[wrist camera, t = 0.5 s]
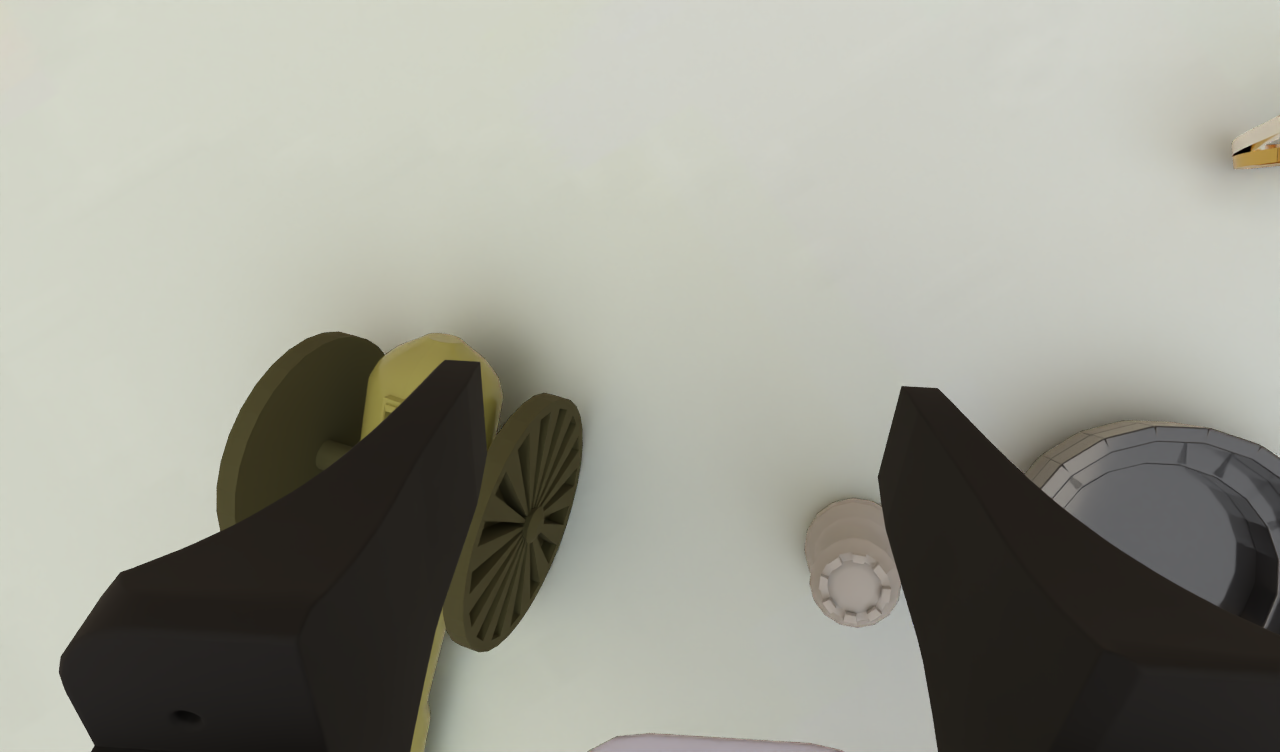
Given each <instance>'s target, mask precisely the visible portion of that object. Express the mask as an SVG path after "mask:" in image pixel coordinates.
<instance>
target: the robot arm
mask: <svg viewBox="0 0 1280 752" xmlns="http://www.w3.org/2000/svg"><path fill="white" fill-rule="evenodd" d="M486 458H487V444H486V431H485V417H484V404H483V391H482V377H481V364H480V362H477V361H460V360H444V361H443V362H442V363H441V364H439V365H438V366H437V367H436V368H435V369H434V370H433V371H432V372H431V373H430V374H429V376H428V377H427V378H426V379H425V380H424V381H423V382H422V383H421V384H420V385H419V386H418V387H417V388H416V389H415V390H414V391H413V392H412V393H411V394H410V395H409V396H408V397H407V398H406V399H405V400H404V401H403V402H402V403H401V404H400V405H399V406H398V407H397V408H396V409H395V410H394V411H393V412H392V413H391V414H389V415H388V416H387V417H386V418H385V419H384V420H383V421H382V422H381V423H380V424H379V425H378V426H377V427H376V428H375V429H374V430H372V431H371V432H370V433H369V434H368V435H367V436H365V437H364V438H363V439H362V440H361V441H360V442H358V443H357V444H356V445H355V446H354V447H352V448H351V449H350V450H349V451H348V452H347V453H345V454H344V455H343V456H342V457H341V458H339V459H338V460H337V461H336V462H334V463H333V464H332V465H330V466H329V467H328V468H326V469H325V470H324V471H322V472H321V473H319V474H318V475H316V476H315V477H313V478H312V479H311V480H309V481H308V482H306V483H305V484H303V485H302V486H300V487H299V488H297V489H296V490H294V491H293V492H291V493H289V494H287V495H286V496H284V497H282V498H281V499H279V500H277V501H276V502H274V503H272V504H270V505H269V506H267V507H265V508H264V509H262V510H260V511H258V512H257V513H255V514H253V515H252V516H250V517H248V518H246V519H244V520H242V521H240V522H238V523H236V524H234V525H232V526H230V527H228V528H226V529H224V530H222V531H220V532H218V533H216V534H214V535H212V536H210V537H208V538H205V539H203V540H201V541H199V542H197V543H194V544H192V545H190V546H188V547H185V548H183V549H181V550H178V551H175V552H173V553H170V554H168V555H165V556H163V557H160V558H157V559H155V560H152V561H150V562H147V563H145V564H142V565H140V566H137V567H134V568H132V569H129V570H126V571H123V572H120V574H119V575H118V576H117V577H116V579H115V580H114V581H113V582H112V584H111V585H110V586H109V587H108V589H107V590H106V591H105V592H104V594H103V595H102V596H101V598H100V599H99V601H98V602H97V604H96V605H95V607H94V608H93V610H92V611H91V613H90V614H89V616H88V617H87V619H86V620H85V622H84V623H83V624H82V626H81V627H80V629H79V630H78V632H77V633H76V635H75V636H74V638H73V639H72V641H71V642H70V644H69V645H68V647H67V648H66V650H65V651H64V653H63V654H62V655H61V659H60V667H59V674H60V677H61V680H62V683H63V686H64V689H65V691H66V693H67V695H68V697H69V699H70V701H71V702H72V704H73V706H74V708H75V710H76V712H77V714H78V715H79V717H80V719H81V721H82V723H83V725H84V726H85V728H86V730H87V732H88V734H89V736H90V737H91V739H92V741H93V743H94V745H95V746H94V748H93V749H92V751H91V752H410V751H411V746H412V741H413V735H414V730H415V725H416V721H417V716H418V711H419V706H420V701H421V696H422V691H423V686H424V682H425V677H426V673H427V668H428V663H429V659H430V654H431V650H432V645H433V641H434V636H435V632H436V628H437V625H438V621H439V618H440V614H441V611H442V608H443V605H444V602H445V599H446V596H447V593H448V590H449V587H450V584H451V581H452V578H453V575H454V572H455V569H456V566H457V564H458V561H459V558H460V555H461V552H462V549H463V546H464V543H465V540H466V537H467V534H468V531H469V528H470V525H471V522H472V519H473V516H474V513H475V510H476V507H477V504H478V499H479V494H480V489H481V484H482V479H483V474H484V468H485V463H486ZM878 481H879V489H880V497H881V504H882V511H883V517H884V523H885V529H886V533H887V536H888V540H889V543H890V547H891V550H892V554H893V557H894V561H895V564H896V568H897V571H898V574H899V578H900V581H901V585H902V588H903V591H904V595H905V598H906V601H907V605H908V608H909V611H910V615H911V618H912V622H913V625H914V628H915V632H916V635H917V639H918V643H919V647H920V651H921V655H922V659H923V664H924V670H925V675H926V681H927V687H928V692H929V698H930V704H931V709H932V715H933V722H934V728H935V735H936V741H937V748H938V752H1280V635H1278V634H1276V633H1274V632H1272V631H1270V630H1267V629H1265V628H1263V627H1261V626H1259V625H1256V624H1254V623H1252V622H1250V621H1248V620H1245V619H1243V618H1241V617H1239V616H1237V615H1234V614H1232V613H1230V612H1228V611H1226V610H1224V609H1222V608H1220V607H1218V606H1216V605H1214V604H1213V603H1211V602H1209V601H1207V600H1205V599H1203V598H1201V597H1199V596H1197V595H1196V594H1194V593H1192V592H1190V591H1188V590H1186V589H1184V588H1182V587H1181V586H1179V585H1177V584H1175V583H1174V582H1172V581H1170V580H1168V579H1167V578H1165V577H1163V576H1161V575H1160V574H1158V573H1156V572H1155V571H1153V570H1152V569H1150V568H1148V567H1147V566H1145V565H1144V564H1142V563H1141V562H1139V561H1137V560H1136V559H1134V558H1133V557H1131V556H1129V555H1128V554H1126V553H1125V552H1123V551H1122V550H1120V549H1119V548H1117V547H1116V546H1114V545H1113V544H1111V543H1110V542H1108V541H1107V540H1105V539H1104V538H1102V537H1101V536H1100V535H1098V534H1097V533H1096V532H1094V531H1093V530H1092V529H1090V528H1089V527H1088V526H1086V525H1085V524H1084V523H1082V522H1081V521H1079V520H1078V519H1077V518H1075V517H1074V516H1073V515H1071V514H1070V513H1069V512H1068V511H1066V510H1065V509H1064V508H1063V507H1061V506H1060V505H1059V504H1058V503H1056V502H1055V501H1054V500H1053V499H1052V498H1051V497H1049V496H1048V495H1047V494H1046V493H1045V492H1044V491H1043V490H1041V489H1040V488H1039V487H1038V486H1037V485H1036V484H1034V483H1033V482H1032V481H1031V480H1030V479H1029V478H1028V477H1027V476H1025V475H1024V474H1023V473H1022V472H1021V471H1020V470H1019V469H1018V468H1017V467H1016V466H1015V465H1014V464H1013V463H1011V462H1010V461H1009V460H1008V459H1007V458H1006V457H1005V456H1004V455H1003V454H1002V453H1001V452H1000V451H999V450H998V449H997V448H996V447H995V446H994V445H993V444H992V443H991V442H990V441H989V440H988V439H987V438H986V437H985V436H984V435H983V434H982V433H981V432H980V431H979V430H978V429H977V428H976V427H975V426H974V425H973V424H972V423H971V422H970V421H969V419H968V418H967V417H966V416H965V415H964V414H963V413H962V412H961V411H960V410H959V409H958V408H957V407H956V406H955V405H954V404H953V403H952V402H951V401H950V400H949V399H948V398H947V397H946V396H945V395H944V394H943V393H942V392H941V391H940V390H939V389H938V388H924V387H907V386H902V387H901V391H900V395H899V398H898V402H897V406H896V410H895V414H894V417H893V421H892V425H891V429H890V433H889V436H888V440H887V444H886V448H885V452H884V455H883V459H882V463H881V467H880V471H879V475H878ZM588 752H844V751H842V750H838V749H834V748H829V747H825V746H821V745H816V744H812V743H800V742H784V741H768V740H752V739H736V738H720V737H703V736H687V735H671V734H655V733H646V734H636V735H625V736H616V737H614V738H612V739H610V740H608V741H606V742H604V743H602V744H600V745H599V746H597V747H595V748H593V749H591V750H589V751H588Z"/></svg>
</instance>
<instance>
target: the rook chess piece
mask: <svg viewBox="0 0 1280 752" xmlns="http://www.w3.org/2000/svg"><path fill="white" fill-rule="evenodd" d="M804 550H805V556H806V560H807V564H808V567H809V571H810V573H811V576H810V587H811V591H812V595H813V599H814V601H815V602H816V604H817V605H818V606H819V608H820V609H821V611H822V612H823V613H824V615H826V616H828V617H829V618H831V619H832V620H834V621H835V622H837V623H839V624H841V625H846V626H851V627H856V628H859V627H864V626H870V625H875V624H876V623H878V622H879V621H881V620H882V619H884V618H885V617H887V616H888V615H890V613H891V611H892V610H893V608H894V607H895V605H896V604H897V602H898V600H899V593H900V587H901V581H900V578H899V574H898V571H897V568H896V564H895V561H894V557H893V554H892V550H891V547H890V543H889V540H888V536H887V533H886V529H885V523H884V517H883V511H882V506H880V505H878V504H877V503H875V502H873V501H868V500H862V499H856V498H851V499H846V500H841V501H837V502H833V503H832V504H830V505H829V506H827V507H826V508H824V509H823V510H822V511H820V512H819V513H817V515H816V516H815V518H814V520H813V521H812V523H811V525H810V526H809V528H808V529H807V535H806V542H805V549H804Z"/></svg>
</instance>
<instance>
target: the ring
mask: <svg viewBox="0 0 1280 752" xmlns="http://www.w3.org/2000/svg"><path fill="white" fill-rule="evenodd" d="M1279 138H1280V115H1279V116H1277V117H1275V118H1273V119H1271V120H1269V121H1267V122H1265V123H1263V124H1261V125H1259V126H1257V127H1255V128H1253V129H1251V130H1249V131H1247V132H1245V133H1243V134H1242V135H1240V136H1238V137H1237V138H1235V139H1234V140H1233V141H1232V159H1233V168H1234V169H1253V168H1263V167H1272V166H1280V144H1274V145H1266V144H1268V143H1270V142H1273V141H1275V140H1277V139H1279Z"/></svg>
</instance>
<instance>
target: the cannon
mask: <svg viewBox="0 0 1280 752" xmlns="http://www.w3.org/2000/svg"><path fill="white" fill-rule="evenodd" d="M444 360H460V361H477V362H480V364H481V377H482V391H483V404H484V417H485V431H486V444H487V458H486V463H485V468H484V474H483V479H482V484H481V489H480V494H479V499H478V504H477V507H476V510H475V513H474V516H473V519H472V522H471V525H470V528H469V531H468V534H467V537H466V540H465V543H464V546H463V549H462V552H461V555H460V558H459V561H458V564H457V566H456V569H455V572H454V575H453V578H452V581H451V584H450V587H449V590H448V593H447V596H446V599H445V602H444V605H443V608H442V611H441V614H440V618H439V621H438V625H437V628H436V632H435V636H434V641H433V645H432V650H431V654H430V659H429V663H428V668H427V673H426V677H425V682H424V686H423V691H422V696H421V701H420V706H419V711H418V716H417V721H416V725H415V730H414V735H413V741H412V746H411V751H410V752H424V751H425V745H426V740H427V734H428V728H429V723H430V714H431V712H430V708H429V703H428V698H429V694H430V690H431V686H432V682H433V678H434V674H435V670H436V666H437V662H438V658H439V654H440V651H441V647H442V643H443V639H444V635H445V631H447V633H448V634H449V636H450V638H451V640H452V641H454V642H456V643H457V644H459V645H461V646H464V647H467V648H469V649H472V650H474V651H477V652H486V651H489V650H491V649H493V648H495V647H496V646H498V645H499V644H500V643H501V642H502V641H503V640H505V639H506V638H507V637H508V636H509V635H510V633H511V632H512V631H513V630H514V629H515V627H516V626H517V625H518V624H519V622H520V621H521V619H522V618H523V616H524V615H525V613H526V612H527V610H528V609H529V607H530V606H531V604H532V602H533V600H534V599H535V597H536V595H537V593H538V591H539V590H540V588H541V586H542V584H543V582H544V579H545V577H546V575H547V573H548V571H549V569H550V567H551V564H552V562H553V560H554V557H555V555H556V552H557V550H558V547H559V545H560V542H561V539H562V536H563V533H564V531H565V528H566V525H567V521H568V518H569V515H570V511H571V508H572V504H573V500H574V496H575V492H576V488H577V483H578V477H579V472H580V466H581V457H582V446H583V442H582V423H581V417H580V414H579V411H578V409H577V406H576V405H575V404H574V403H573V402H572V401H571V400H569V399H565V398H562V397H558V396H555V395H551V394H547V393H542V394H539V395H535V396H533V397H532V398H530V399H529V400H527V401H526V402H525V403H523V404H522V405H521V406H520V407H519V408H518V409H517V410H516V411H515V412H514V413H513V414H512V415H511V417H510V418H509V419H508V420H507V422H506V423H505V424H504V426H503V427H502V429H501V430H500V431H499V433H498V434H497V429H498V424H499V419H500V413H501V408H502V402H503V391H502V388H501V384H500V380H499V377H498V375H497V374H496V373H495V371H494V370H493V368H492V367H491V366H490V364H489V363H488V362H487V360H486V359H485V358H484V357H483V356H481V355H480V354H479V353H478V352H476V351H475V350H474V349H472V348H471V347H470V346H469V345H468V344H467V343H465V342H464V341H463V340H462V339H461V338H459V337H456V336H453V335H449V334H442V333H430V334H427V335H425V336H422V337H420V338H417V339H415V340H412V341H409V342H406V343H403V344H400V345H398V346H397V347H395V348H394V349H393V350H391V351H390V352H388V353H387V354H385V355H384V353H383V352H382V351H381V349H380V348H379V347H378V346H376V345H375V344H373V343H372V342H370V341H369V340H367V339H364V338H360V337H357V336H354V335H350V334H346V333H342V332H326V333H321V334H318V335H315V336H313V337H310V338H307V339H305V340H304V341H302V342H300V343H299V344H297V345H296V346H294V347H293V348H291V349H289V350H288V351H287V352H286V353H285V354H284V355H283V356H282V357H280V358H279V359H278V360H277V361H276V362H275V363H274V364H273V365H272V366H271V367H270V368H269V369H268V371H267V372H266V373H265V374H264V375H263V377H262V378H261V379H260V380H259V382H258V383H257V384H256V385H255V387H254V388H253V390H252V392H251V393H250V395H249V397H248V398H247V400H246V401H245V403H244V405H243V406H242V408H241V410H240V412H239V414H238V416H237V418H236V421H235V423H234V425H233V427H232V429H231V432H230V434H229V437H228V440H227V443H226V446H225V450H224V453H223V456H222V459H221V464H220V470H219V476H218V482H217V516H218V521H219V526H220V531H222V530H224V529H226V528H228V527H230V526H232V525H234V524H236V523H238V522H240V521H242V520H244V519H246V518H248V517H250V516H252V515H253V514H255V513H257V512H258V511H260V510H262V509H264V508H265V507H267V506H269V505H270V504H272V503H274V502H276V501H277V500H279V499H281V498H282V497H284V496H286V495H287V494H289V493H291V492H293V491H294V490H296V489H297V488H299V487H300V486H302V485H303V484H305V483H306V482H308V481H309V480H311V479H312V478H313V477H315V476H316V475H318V474H319V473H321V472H322V471H324V470H325V469H326V468H328V467H329V466H330V465H332V464H333V463H334V462H336V461H337V460H338V459H339V458H341V457H342V456H343V455H344V454H345V453H347V452H348V451H349V450H350V449H351V448H352V447H354V446H355V445H356V444H357V443H358V442H360V441H361V440H362V439H363V438H364V437H365V436H367V435H368V434H369V433H370V432H371V431H372V430H374V429H375V428H376V427H377V426H378V425H379V424H380V423H381V422H382V421H383V420H384V419H385V418H386V417H387V416H388V415H389V414H391V413H392V412H393V411H394V410H395V409H396V408H397V407H398V406H399V405H400V404H401V403H402V402H403V401H404V400H405V399H406V398H407V397H408V396H409V395H410V394H411V393H412V392H413V391H414V390H415V389H416V388H417V387H418V386H419V385H420V384H421V383H422V382H423V381H424V380H425V379H426V378H427V377H428V376H429V374H430V373H431V372H432V371H433V370H434V369H435V368H436V367H437V366H438V365H439V364H441V363H442V362H443V361H444ZM496 435H497V436H496Z"/></svg>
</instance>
